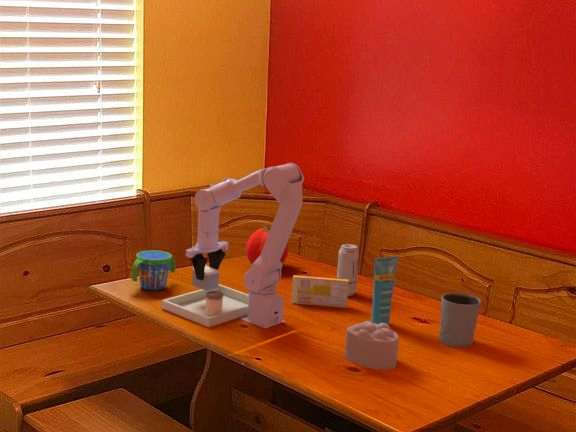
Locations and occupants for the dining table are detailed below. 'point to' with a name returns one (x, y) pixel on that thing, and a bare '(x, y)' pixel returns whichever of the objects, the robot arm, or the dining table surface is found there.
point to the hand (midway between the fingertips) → (206, 277)
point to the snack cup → (153, 269)
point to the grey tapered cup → (458, 319)
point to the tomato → (260, 245)
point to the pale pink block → (207, 279)
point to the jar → (213, 303)
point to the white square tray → (195, 306)
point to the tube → (383, 289)
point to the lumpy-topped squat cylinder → (372, 345)
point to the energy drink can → (348, 266)
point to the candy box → (320, 291)
